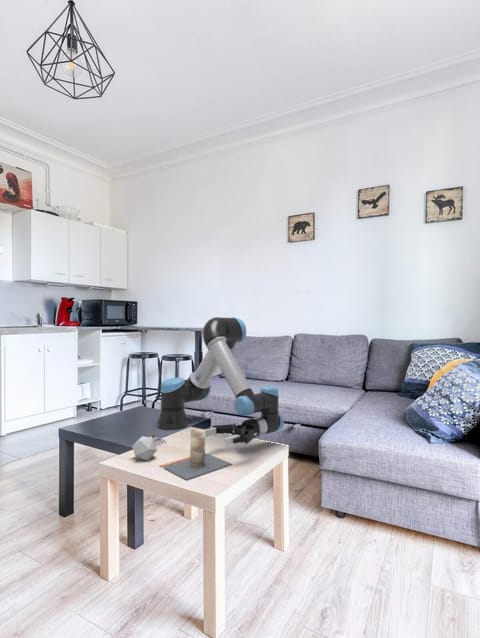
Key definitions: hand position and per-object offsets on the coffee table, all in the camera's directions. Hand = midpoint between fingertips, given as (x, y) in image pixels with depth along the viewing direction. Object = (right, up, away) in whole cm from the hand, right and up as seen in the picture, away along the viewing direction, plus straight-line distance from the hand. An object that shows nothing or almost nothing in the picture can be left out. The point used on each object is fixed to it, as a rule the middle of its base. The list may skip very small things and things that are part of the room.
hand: (213, 438), depth 137 cm
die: (-26, -9, +3) cm, 28 cm away
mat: (-5, -8, -5) cm, 11 cm away
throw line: (-11, -9, +1) cm, 14 cm away
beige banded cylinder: (-5, -8, -5) cm, 11 cm away
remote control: (-28, -10, +22) cm, 37 cm away
